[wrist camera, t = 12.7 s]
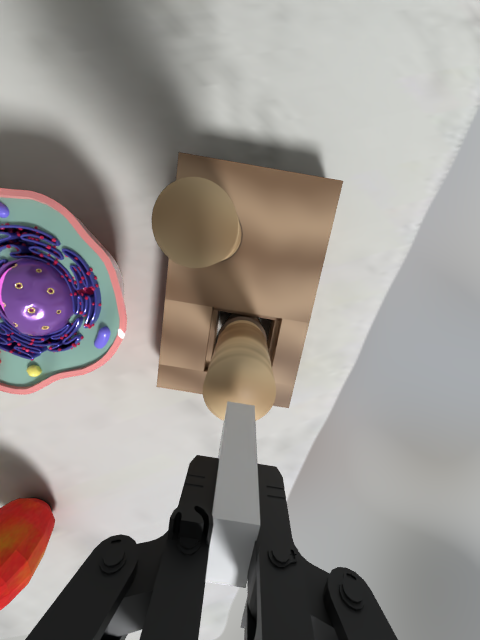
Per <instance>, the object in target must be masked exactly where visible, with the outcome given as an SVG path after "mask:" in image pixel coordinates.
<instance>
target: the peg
mask: <svg viewBox="0 0 480 640" xmlns="http://www.w3.org/2000/svg"><path fill="white" fill-rule="evenodd" d="M203 397H204V401H205V403H206V405H207V407H208V408H209V410H210V411H211V412H212V413H213V414H214V415H215V416H217V417H218V418H220V419H221V420H224V419H225V413H226V407H227V401H229V402H235V403H241V404H247V405H254V406H255V421H256V420H258V419H260V418H262V417H263V416H264V415H265V414H267V413H268V411H269V410H270V409H271V407H272V406H273V404H274V401H275V398H276V385H275V380H274V375H273V371H272V366H271V361H270V356H269V352H268V347H267V337H266V333H265V330H264V328H263V327H262V325H261V323H260V320H259V319H258V317H254V316H247V315H241V314H235V313H232V314H231V315H230V316H229V317H228V318H227V320H226V322H225V323H224V325H223V326H222V327H221V329H220V331H219V334H218V340H217V343H216V346H215V349H214V352H213V355H212V358H211V361H210V364H209V368H208V371H207V374H206V377H205V380H204V383H203Z"/></svg>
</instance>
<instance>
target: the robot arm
mask: <svg viewBox="0 0 480 640" xmlns="http://www.w3.org/2000/svg"><path fill="white" fill-rule="evenodd" d="M247 579H248V597H247V601H246V606H245V609H244V613H243V618H242V623H241V628H244V627H245V640H398V639H397V637H396V636H395V634H394V632H393V630H392V628H391V626H390V624H389V623H388V621H387V619H386V617H385V615H384V613H383V611H382V610H381V608H380V606H379V604H378V602H377V600H376V599H375V597H374V595H373V593H372V591H371V590H370V588H369V587H368V585H367V584H366V582H365V581H364V580H363V579H362V578H361V577H360V576H359V575H358V574H357V573H356V572H354V571H352V570H350V569H348V568H343V567H337V568H335V569H333V570H332V571H331V573H330V574H329V573H327V572H326V571H324V570H322V569H320V568H318V567H316V566H314V565H312V564H311V563H309V562H308V561H306V559H305V558H303V557H302V556H301V554H300V553H299V552H298V549H297V548H296V547H295V545H294V542H293V539H292V534H291V528H290V521H289V515H288V509H287V502H286V496H285V491H284V483H283V477H282V475H281V474H280V472H279V470H278V469H277V467H275V466H268V465H262V464H257V445H256V424H255V406H254V405H247V404H241V403H235V402H229V401H227V407H226V413H225V419H224V424H223V430H222V436H221V442H220V449H219V456H218V458H212V457H206V456H200V455H197V456H196V457H195V458H194V459H193V460H192V461H191V463H190V464H189V468H188V472H187V476H186V479H185V483H184V487H183V490H182V494H181V498H180V501H179V505H178V507H177V508H176V509H175V510H174V511H173V513H172V515H171V517H170V522H169V530H168V531H167V532H166V533H165V534H164V535H163V536H161V537H160V538H158V539H156V540H152V541H149V542H144V543H139V544H136V542H135V541H134V540H133V539H132V538H131V537H129V536H126V535H116V536H111V537H109V538H107V539H106V540H104V541H102V542H101V543H100V544H99V545H98V546H97V547H96V548H95V549H94V550H93V551H92V553H91V554H90V555H89V557H88V558H87V559H86V561H85V562H84V563H83V565H82V566H81V567H80V569H79V570H78V571H77V572H76V574H75V575H74V576H73V578H72V579H71V580H70V582H69V583H68V584H67V586H66V587H65V588H64V590H63V591H62V592H61V593H60V595H59V596H58V597H57V599H56V600H55V601H54V603H53V604H52V605H51V607H50V608H49V609H48V610H47V612H46V613H45V614H44V616H43V617H42V618H41V620H40V621H39V622H38V624H37V625H36V626H35V628H34V629H33V630H32V631H31V633H30V634H29V635H28V637H27V638H26V639H25V640H125V638H126V636H127V634H128V633H132V632H135V631H138V630H141V629H142V633H141V636H140V640H198V636H199V628H200V620H201V612H202V604H203V596H204V588H205V582H210V583H217V584H223V585H230V586H237V587H243V588H245V587H246V583H247Z"/></svg>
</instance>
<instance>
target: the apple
mask: <svg viewBox="0 0 480 640" xmlns="http://www.w3.org/2000/svg"><path fill="white" fill-rule="evenodd" d="M54 523H55V519H54V516H53V514H52V511H51V508H50V506H49V505H48V504H47V503H46V502H44V501H42V500H40V499H37V498H19V499H16V500H14V501H11V502H10V503H8V504H6V505H5V506H3V507H1V508H0V610H1V609H3V608H4V607H5V606H6V605H7V604H9V603H10V602H11V601H12V600H13V599H14V598H15V597H16V596H17V595H18V593H19V592H20V591H21V590H22V589H23V588H24V587H25V586H26V585H27V584H28V583H29V581H30V579H31V578H32V576H33V574H34V572H35V570H36V568H37V566H38V565H39V563H40V561H41V559H42V557H43V555H44V553H45V550H46V547H47V544H48V542H49V539H50V536H51V533H52V531H53V528H54Z"/></svg>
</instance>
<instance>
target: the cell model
mask: <svg viewBox="0 0 480 640" xmlns="http://www.w3.org/2000/svg"><path fill="white" fill-rule="evenodd" d="M126 325H127V317H126V309H125V303H124V283H123V278H122V274H121V271H120V269H119V267H118V265H117V263H116V261H115V260H114V258H113V257H112V256H111V254H110V253H109V252H108V251H107V249H106V248H105V247H104V246H103V245H102V244H101V243H100V242H99V241H98V240H97V239H96V238H95V237H94V235H93V234H92V233H91V232H90V231H89V230H88V229H87V228H86V226H85V225H84V224H83V223H82V222H81V221H80V220H79V219H78V218H77V217H76V216H74V215H73V214H72V213H70V212H69V211H68V210H67V209H66V208H65V207H64V206H62V205H61V204H59V203H58V202H56V201H55V200H53V199H51V198H49V197H47V196H45V195H43V194H40V193H37V192H33V191H27V190H16V189H5V188H0V391H3V392H7V393H12V394H30V393H33V392H36V391H38V390H40V389H42V388H43V387H45V386H47V385H49V384H51V383H52V382H54V381H56V380H59V379H62V378H67V377H72V376H78V375H84V374H86V373H89V372H91V371H93V370H95V369H97V368H99V367H100V366H102V365H103V364H105V363H106V362H107V361H108V360H109V359H110V358H111V357H112V356H113V355H114V354H115V352H116V351H117V349H118V347H119V345H120V344H121V342H122V340H123V338H124V334H125V331H126Z"/></svg>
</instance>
